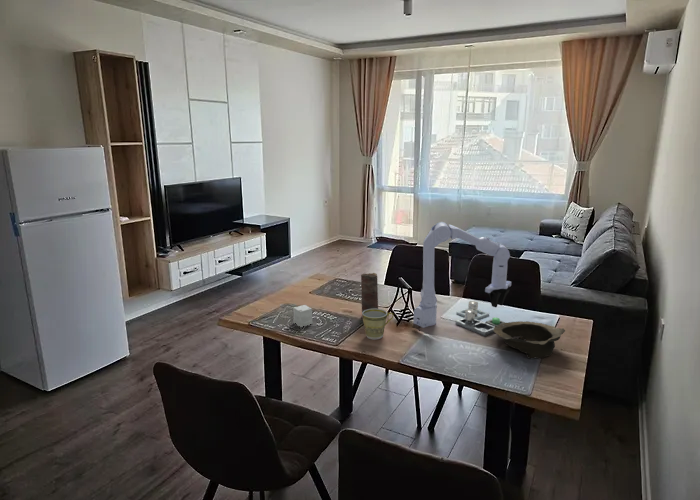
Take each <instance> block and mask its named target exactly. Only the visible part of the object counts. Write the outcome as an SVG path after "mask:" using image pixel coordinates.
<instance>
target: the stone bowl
mask: <svg viewBox="0 0 700 500" xmlns="http://www.w3.org/2000/svg"><path fill="white" fill-rule="evenodd" d="M493 331H494V333H495V334H496V335H497V336H498V337H500V338H502V340H503V342H504V344H506V345H507V346H509V347H511V348H513V349H514V350H515V349H516V350H519V352H522V353H525V355H526V357H527V358H528V357H529V358H528V359H531V358H534V359H543V358H546V357H549V356H551V355H552V354H553V353H554V349H555V348H556V343H555V342H557V341H559V340H560V339H561V337H562V335H563V334H564V333H565V332H566V330H565V329H564V328H559V327H558V328H557V327H556V326H554V325H549V324H544V323H541V322H535V321H521V320H519V321H510V322H506V323H502V324H500V325H497V326H495V327H494V330H493Z"/></svg>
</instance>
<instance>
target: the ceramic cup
mask: <svg viewBox="0 0 700 500" xmlns="http://www.w3.org/2000/svg"><path fill="white" fill-rule="evenodd" d="M389 315H390V316H391V315H392V317H391V318H390V319H388V316H389ZM361 316H362V321H363V326H364V331H365V336H366V337H367V339H370V340H373V341H375V340H381V339H382V338H383V336H384V332H385V327H386V325H387V324H389V322H391V321H392V320H393V319H394V313H393V312H387V311H386V310H385V309H380V308H378V309H367V310H364V311H363V312H362V311H361ZM387 319H388V320H387Z"/></svg>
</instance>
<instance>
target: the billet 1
mask: <svg viewBox="0 0 700 500" xmlns="http://www.w3.org/2000/svg"><path fill="white" fill-rule="evenodd" d="M467 308H468V310H474V311H475V317H477V316H478V309H479V302H478V301H475V300H472V301H468V307H467Z"/></svg>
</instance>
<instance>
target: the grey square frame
mask: <svg viewBox="0 0 700 500" xmlns="http://www.w3.org/2000/svg"><path fill="white" fill-rule="evenodd" d="M465 310H468V307H467V308H463V309H460V310H457V311H456V315H458V316H460V317H463V318H465ZM478 313H479V314H480V315H477V316H475V319H477V320H480V319H484V318H487V317H489V316H490V313H489V312H486V311H484V310H481V309H479V308H478V312H477V314H478Z"/></svg>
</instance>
